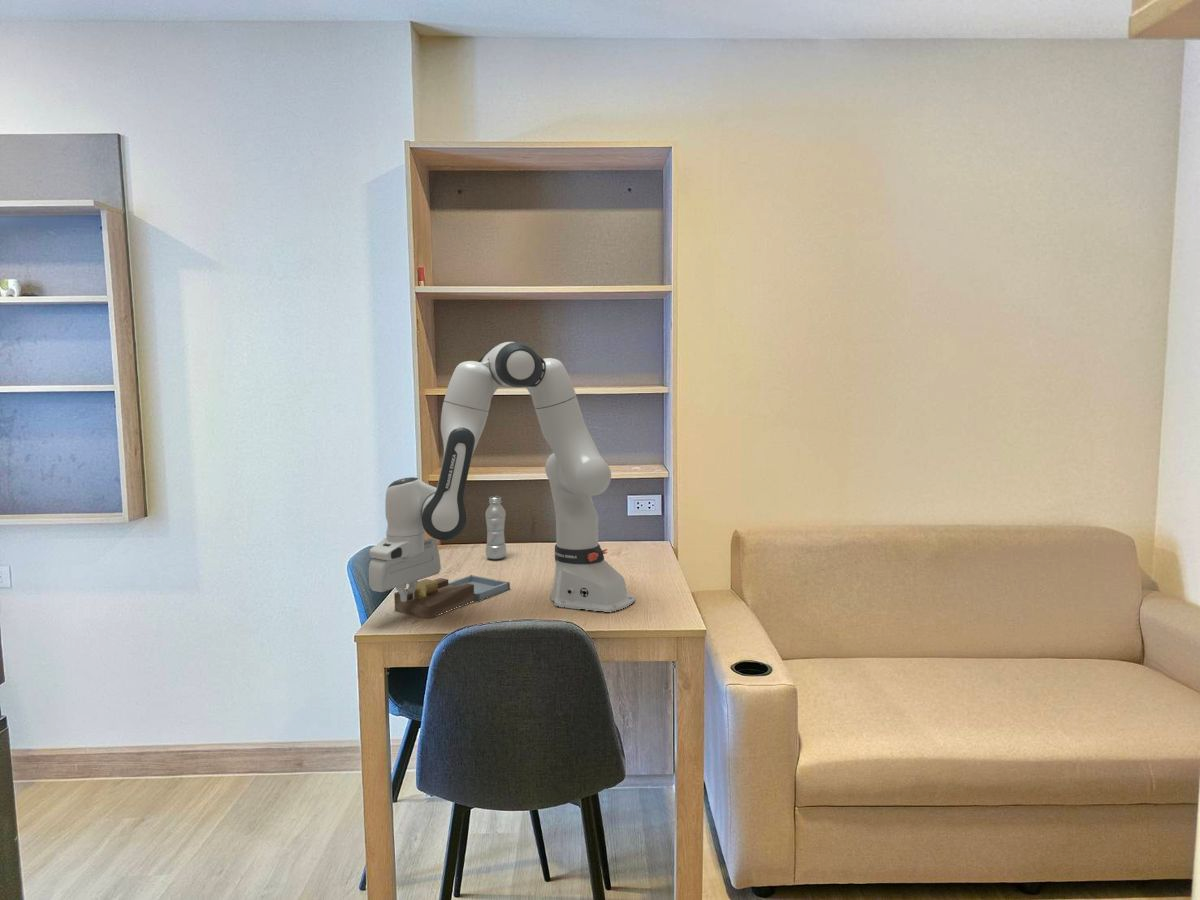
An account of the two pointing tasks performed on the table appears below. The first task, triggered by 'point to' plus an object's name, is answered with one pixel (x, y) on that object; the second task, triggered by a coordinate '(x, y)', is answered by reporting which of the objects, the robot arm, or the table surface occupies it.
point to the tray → (483, 586)
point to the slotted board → (437, 600)
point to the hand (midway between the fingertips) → (407, 600)
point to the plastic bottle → (495, 529)
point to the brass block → (426, 588)
